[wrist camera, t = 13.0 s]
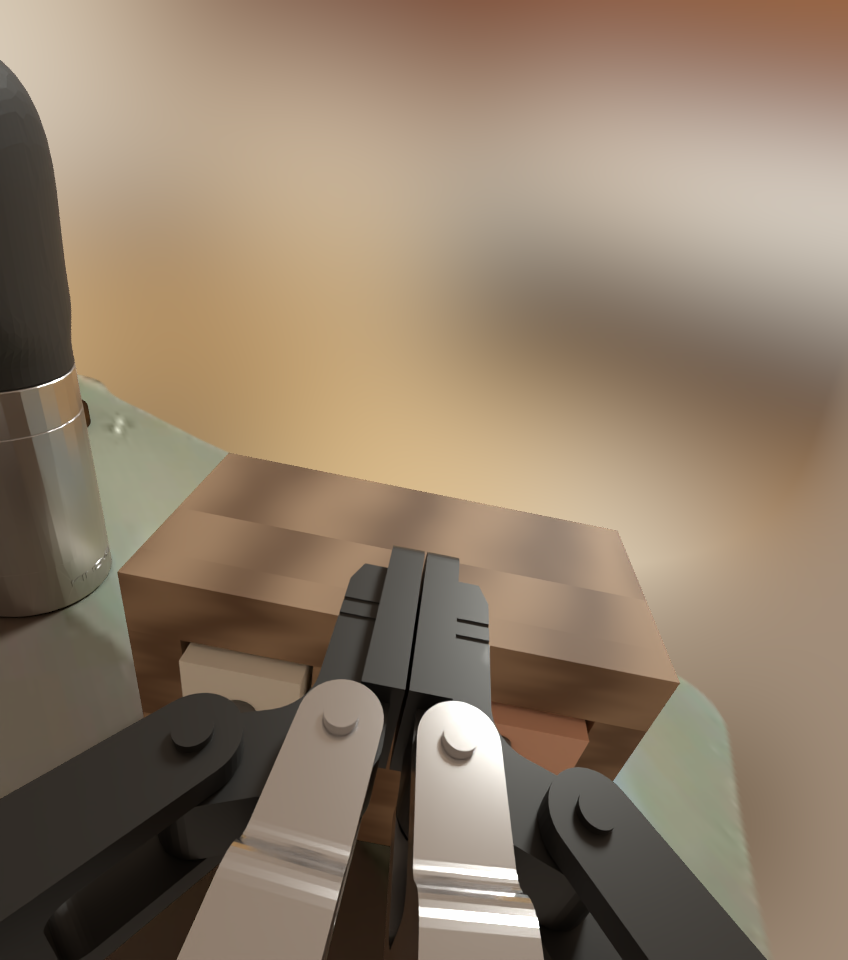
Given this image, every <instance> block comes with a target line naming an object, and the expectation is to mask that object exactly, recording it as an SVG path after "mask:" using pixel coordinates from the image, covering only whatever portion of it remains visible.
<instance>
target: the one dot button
mask: <svg viewBox="0 0 848 960" xmlns="http://www.w3.org/2000/svg"><path fill="white" fill-rule="evenodd" d="M179 667H180V676H181V684H182V693H183V697H184V696H187V695H191V694H196V693H214V694H218V695H221V696H223V697H226V698H228V699H229V700H230V701H232V702H233V703H234V704H235V705H236V706H237V707H238V709H239V711H240V712H241V713H244V712H253V711H261V710H269V709H275V708H280V707H283V706H286V705H289V704H291V703H293V702H295V701H296V700H298V699H300V698H301V697H302V696H304V695H305V694H306V693H307V692H308V691H309V690H310V689H311V684H312V673H313V666H309V665H304V664H299V663H294V662H289V661H284V660H279V659H274V658H269V657H263V656H258V655H253V654H248V653H243V652H238V651H233V650H228V649H223V648H218V647H212V646H207V645H202V644H197V643H192V642H190V644H189V646H188V647H187V649H186V650H185V652H184V654H183V655H182V657H181V658H180V660H179Z"/></svg>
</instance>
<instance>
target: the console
mask: <svg viewBox="0 0 848 960" xmlns="http://www.w3.org/2000/svg"><path fill="white" fill-rule="evenodd" d="M393 545H395V546H401V547H406V548H411V549H416V550H421V551H425V555H424V562H423V568H424V563H425V559H426V555H427V552H431V553H436V554H441V555H446V556H451V557H456V558H459V582H463V583H468V584H473V585H478V586H479V587H480V589H481V591H482V593H483V595H484V597H485V599H486V601H487V603H488V608H489V626H488V628H489V645H490V681H491V701H493V702H498V703H503V704H508V705H513V706H518V707H523V708H528V709H533V710H538V711H544V712H549V713H554V714H559V715H564V716H569V717H574V718H579V719H584V720H585V723H586V728H587V733H588V737H589V743H588V745H587V746H586V748H585V750H584V751H583V753H582V755H581V756H580V758H579V760H578V761H577V763H576V765H575V767H582V768H588V769H591V770H594V771H597V772H599V773H601V774H603V775H604V776H606V777H607V778H609V779H610V780H611V781H613V780H614V779H615V777H616V776H617V774H618V773H619V772H620V770H621V769H622V767H623V766H624V764H625V763H626V761H627V760H628V758H629V757H630V755H631V754H632V753H633V751H634V750H635V748H636V747H637V745H638V744H639V742H640V741H641V739H642V738H643V736H644V735H645V733H646V732H647V731H648V729H649V728H650V726H651V725H652V723H653V722H654V720H655V719H656V717H657V716H658V714H659V713H660V712H661V710H662V709H663V707H664V706H665V704H666V703H667V701H668V700H669V698H670V697H671V695H672V694H673V693H674V691H675V690H676V688H677V687H678V685H679V684H680V682H679V680H678V677H677V675H676V672H675V670H674V667H673V665H672V662H671V660H670V658H669V655H668V653H667V650H666V648H665V645H664V643H663V641H662V638H661V636H660V633H659V631H658V629H657V626H656V624H655V621H654V619H653V616H652V614H651V611H650V609H649V606H648V604H647V602H646V599H645V597H644V594H643V592H642V589H641V587H640V585H639V582H638V580H637V577H636V575H635V572H634V570H633V568H632V565H631V563H630V560H629V558H628V555H627V553H626V550H625V548H624V545H623V543H622V541H621V539H620V536H619V533H618V531H616V530H611V529H606V528H601V527H596V526H591V525H586V524H582V523H576V522H572V521H567V520H561V519H557V518H551V517H547V516H542V515H536V514H532V513H527V512H522V511H517V510H512V509H506V508H501V507H496V506H491V505H487V504H482V503H476V502H472V501H467V500H462V499H457V498H452V497H447V496H442V495H437V494H432V493H427V492H422V491H417V490H411V489H407V488H402V487H397V486H392V485H387V484H382V483H377V482H372V481H367V480H361V479H357V478H352V477H347V476H342V475H337V474H332V473H327V472H322V471H317V470H312V469H307V468H302V467H297V466H292V465H287V464H282V463H277V462H272V461H267V460H262V459H257V458H252V457H247V456H242V455H237V454H232V453H229V454H228V455H227V456H226V457H225V458H224V459H223V460H222V461H221V462H220V463H219V464H218V465H217V466H216V467H215V468H214V470H213V471H212V472H211V473H210V474H209V475H208V476H207V477H206V478H205V479H204V480H203V481H202V482H201V483H200V484H199V485H198V487H197V488H196V489H195V490H194V491H193V492H192V493H191V494H190V495H189V496H188V497H187V498H186V499H185V500H184V501H183V503H182V504H181V505H180V506H179V507H178V508H177V509H176V510H175V511H174V512H173V513H172V514H171V515H170V516H169V517H168V519H167V520H166V521H165V522H164V523H163V524H162V525H161V526H160V527H159V528H158V529H157V530H156V531H155V532H154V533H153V535H152V536H151V537H150V538H149V539H148V540H147V541H146V542H145V543H144V544H143V545H142V546H141V547H140V548H139V549H138V550H137V552H136V553H135V554H134V555H133V556H132V557H131V558H130V559H129V560H128V561H127V562H126V563H125V564H124V565H123V566H122V568H121V569H120V570H119V571H118V572H117V573H118V578H119V584H120V589H121V595H122V600H123V606H124V611H125V616H126V622H127V627H128V633H129V638H130V644H131V649H132V655H133V660H134V666H135V671H136V677H137V682H138V688H139V693H140V699H141V704H142V709H143V715H144V718H145V717H146V716H148V715H150V714H152V713H153V712H155V711H157V710H159V709H161V708H162V707H164V706H166V705H168V704H169V703H171V702H173V701H175V700H177V699H179V698H182V697H183V693H182V684H181V676H180V667H179V660H180V658H181V657H182V655H183V654H184V652H185V650H186V649H187V647H188V646H189V644H190V642H192V643H197V644H202V645H207V646H212V647H218V648H223V649H228V650H233V651H238V652H243V653H248V654H253V655H258V656H263V657H269V658H274V659H279V660H284V661H289V662H294V663H299V664H304V665H309V666H313V673H312V684H311V688H312V687H313V685H314V684H315V682H316V680H317V678H318V676H319V673H320V670H321V667H322V664H323V661H324V658H325V655H326V652H327V649H328V646H329V643H330V639H331V636H332V633H333V630H334V627H335V624H336V621H337V618H338V615H339V612H340V609H341V606H342V603H343V600H344V597H345V593H346V590H347V587H348V584H349V581H350V578H351V577H352V576H353V575H354V574H355V573H356V572H357V571H358V570H359V569H360V568H361V567H362V566H363V565H364V564H365V563H366V564H371V565H376V566H381V567H386V568H388V566H389V561H390V557H391V553H392V549H393ZM422 572H423V569H422ZM394 734H395V733H394ZM393 741H394V737H393ZM393 741H392V745H391V749H390V753H389V757H388V761H387V765H386V769H383V768H378V769H377V773H376V777H375V782H374V786H373V790H372V795H371V799H370V803H369V805H368V808H367V810H366V812H365V813H364V815H363V817H362V821H361V825H360V829H359V833H358V837H357V840H360V841H365V842H370V843H375V844H380V845H386V846H391V834H392V820H393V813H394V810H395V806H396V803H397V799H398V792H399V784H400V776H401V772H400V771H395V770H390V769H389V768H390V761H391V754H392V748H393Z"/></svg>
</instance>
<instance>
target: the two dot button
mask: <svg viewBox="0 0 848 960" xmlns="http://www.w3.org/2000/svg"><path fill="white" fill-rule="evenodd" d="M491 710H492V716H493V720H494V723H495V725H496V727H497V729H498V731H499V733H500V735H501V736H502V737H503V739H504V740H505V741H506V743H507V744H508V745H509V746H510V747H511V748H512V749H513V750H515V751H516V752H517V753H518V754H520V755H521V756H523V757H524V758H526V759H528V760H530V761H531V762H533V763H535V764H537V765H539V766H541V767H543V768H544V769H546V770H548V771H550V772H552V773H554V774H555V775H558V774H559V773H560V772H562V771H564V770H566V769H569V768H573V767H575V765H576V763H577V761H578V760H579V758H580V756H581V755H582V753H583V751H584V750H585V748H586V746H587V745H588V743H589V737H588V733H587V728H586V723H585V720H584V719H579V718H574V717H569V716H564V715H559V714H554V713H549V712H544V711H538V710H533V709H528V708H523V707H518V706H513V705H508V704H503V703H498V702H493V701H491Z"/></svg>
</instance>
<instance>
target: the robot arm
mask: <svg viewBox="0 0 848 960" xmlns="http://www.w3.org/2000/svg"><path fill="white" fill-rule="evenodd" d="M424 555H425V551H421V550H416V549H411V548H406V547H401V546H395V545H393V549H392V553H391V557H390V561H389V566H388V568H386V567H381V566H376V565H371V564H366V563H365V564H364V565H363V566H362V567H361V568H360V569H359V570H358V571H357V572H356V573H355V574H354V575H353V576H352V577H351V578H350V581H349V584H348V587H347V590H346V593H345V597H344V600H343V603H342V606H341V609H340V612H339V615H338V618H337V621H336V624H335V627H334V630H333V633H332V636H331V639H330V643H329V646H328V649H327V652H326V655H325V658H324V661H323V664H322V667H321V670H320V673H319V676H318V678H317V680H316V682H315V684H314V685H313V687H312V688H311V689H310V690H309V691H308V692H307V693H306V694H305V695H304V696H302V697H301V698H300V699H298V700H296V701H295V702H293V703H291V704H289V705H286V706H283V707H280V708H275V709H269V710H261V711H253V712H244V713H241V712H240V711H239V709H238V707H237V706H236V705H235V704H234V703H233V702H232V701H230V700H229V699H228V698H226V697H223V696H221V695H218V694H214V693H196V694H191V695H187V696H184V697H182V698H179V699H177V700H175V701H173V702H171V703H169V704H168V705H166V706H164V707H162V708H161V709H159V710H157V711H155V712H153V713H152V714H150V715H148V716H146V717H145V718H143V719H141V720H139V721H138V722H136V723H134V724H132V725H130V726H129V727H127V728H125V729H123V730H122V731H120V732H118V733H116V734H115V735H113V736H111V737H109V738H107V739H106V740H104V741H102V742H100V743H99V744H97V745H95V746H93V747H92V748H90V749H88V750H86V751H84V752H83V753H81V754H79V755H77V756H76V757H74V758H72V759H70V760H69V761H67V762H65V763H63V764H61V765H60V766H58V767H56V768H54V769H53V770H51V771H49V772H47V773H46V774H44V775H42V776H40V777H38V778H37V779H35V780H33V781H31V782H30V783H28V784H26V785H24V786H22V787H21V788H19V789H17V790H15V791H14V792H12V793H10V794H8V795H7V796H5V797H3V798H1V799H0V960H104V959H105V958H106V957H108V956H109V955H110V954H111V953H112V952H114V951H115V950H116V949H117V948H118V947H120V946H121V945H122V944H123V943H124V942H126V941H127V940H128V939H129V938H130V937H132V936H133V935H134V934H135V933H136V932H138V931H139V930H140V929H141V928H142V927H144V926H145V925H146V924H147V923H148V922H150V921H151V920H152V919H153V918H154V917H156V916H157V915H158V914H159V913H160V912H162V911H163V910H164V909H165V908H166V907H168V906H169V905H170V904H171V903H172V902H174V901H175V900H176V899H177V898H178V897H180V896H181V895H182V894H183V893H184V892H186V891H187V890H188V889H189V888H190V887H192V886H193V885H194V884H195V883H196V882H198V881H199V880H200V879H201V878H202V877H204V876H205V875H206V874H207V873H208V872H210V871H211V870H212V869H213V868H214V867H216V866H217V865H218V864H219V863H220V862H221V863H220V865H219V867H218V869H217V871H216V874H215V876H214V878H213V880H212V882H211V885H210V887H209V889H208V891H207V893H206V896H205V898H204V900H203V902H202V905H201V907H200V909H199V911H198V913H197V916H196V918H195V920H194V922H193V925H192V927H191V929H190V931H189V933H188V936H187V938H186V940H185V942H184V944H183V947H182V949H181V951H180V953H179V956H178V958H177V960H327V955H328V951H329V947H330V943H331V939H332V935H333V931H334V927H335V923H336V919H337V916H338V912H339V908H340V904H341V900H342V896H343V892H344V888H345V884H346V880H347V876H348V872H349V868H350V864H351V860H352V856H353V853H354V849H355V845H356V841H357V837H358V833H359V829H360V825H361V821H362V817H363V815H364V813H365V812H366V810H367V808H368V805H369V803H370V799H371V795H372V790H373V786H374V782H375V777H376V773H377V769H378V768H383V769H386V765H387V761H388V757H389V753H390V749H391V745H392V741H393V737H394V741H393V748H392V754H391V761H390V768H389V769H390V770H395V771H400V772H401V776H400V784H399V792H398V799H397V803H396V806H395V810H394V813H393V820H392V834H391V849H390V865H389V880H388V895H387V911H386V926H385V941H384V953H383V960H767V959H766V958H765V957H764V956H763V955H762V953H761V952H760V951H759V950H758V949H757V948H756V946H755V945H754V944H753V943H752V942H751V941H750V939H749V938H748V937H747V936H746V935H745V934H744V932H743V931H742V930H741V929H740V928H739V927H738V925H737V924H736V923H735V922H734V921H733V919H732V918H731V917H730V916H729V915H728V914H727V912H726V911H725V910H724V909H723V908H722V907H721V905H720V904H719V903H718V902H717V901H716V900H715V898H714V897H713V896H712V895H711V894H710V893H709V891H708V890H707V889H706V888H705V887H704V886H703V884H702V883H701V882H700V881H699V880H698V879H697V877H696V876H695V875H694V874H693V873H692V872H691V870H690V869H689V868H688V867H687V866H686V865H685V863H684V862H683V861H682V860H681V859H680V858H679V856H678V855H677V854H676V853H675V852H674V851H673V849H672V848H671V847H670V846H669V845H668V844H667V842H666V841H665V840H664V839H663V838H662V837H661V835H660V834H659V833H658V832H657V831H656V830H655V828H654V827H653V826H652V825H651V824H650V823H649V821H648V820H647V819H646V818H645V817H644V816H643V814H642V813H641V812H640V811H639V810H638V809H637V807H636V806H635V805H634V804H633V803H632V802H631V800H630V799H629V798H628V797H627V796H626V794H625V793H624V792H623V791H622V790H621V789H620V788H619V787H618V786H617V785H616V784H615V783H614V782H613V781H611V780H610V779H609V778H607V777H606V776H604V775H603V774H601V773H599V772H597V771H594V770H591V769H588V768H582V767H573V768H569V769H566V770H564V771H562V772H560V773H559V774H558V775H555V774H554V773H552V772H550V771H548V770H546V769H544V768H543V767H541V766H539V765H537V764H535V763H533V762H531V761H530V760H528V759H526V758H524V757H523V756H521V755H520V754H518V753H517V752H516V751H515V750H513V749H512V748H511V747H510V746H509V745H508V744H507V743H506V741H505V740H504V739H503V737H502V736H501V735H500V733H499V731H498V729H497V727H496V725H495V723H494V720H493V716H492V710H491V681H490V645H489V628H488V626H489V608H488V603H487V601H486V599H485V597H484V595H483V593H482V591H481V589H480V587H479V586H478V585H473V584H468V583H463V582H459V558H456V557H451V556H446V555H441V554H436V553H431V552H427V555H426V559H425V563H424V568H423V562H424ZM111 563H112V559H111V553H110V548H109V543H108V537H107V532H106V527H105V520H104V515H103V510H102V504H101V499H100V494H99V488H98V483H97V478H96V472H95V467H94V462H93V456H92V451H91V446H90V441H89V435H88V430H87V425H86V419H85V414H84V409H83V403H82V399H81V394H80V388H79V383H78V378H77V373H76V367H75V362H74V356H73V351H72V344H71V302H70V294H69V287H68V282H67V274H66V268H65V260H64V253H63V244H62V236H61V226H60V217H59V208H58V199H57V190H56V183H55V177H54V170H53V164H52V159H51V155H50V150H49V146H48V142H47V138H46V135H45V132H44V129H43V126H42V123H41V120H40V117H39V115H38V112H37V110H36V108H35V106H34V104H33V102H32V100H31V98H30V96H29V94H28V92H27V91H26V89H25V88H24V86H23V85H22V83H21V82H20V81H19V79H18V78H17V77H16V75H15V74H14V73H13V72H12V71H11V70H10V69H9V68H8V67H7V66H6V65H5V64H4V63H3V62H2V61H1V60H0V616H6V617H22V616H32V615H37V614H42V613H47V612H51V611H54V610H57V609H60V608H63V607H66V606H68V605H70V604H72V603H74V602H76V601H78V600H80V599H82V598H83V597H85V596H87V595H88V594H90V593H91V592H93V591H94V590H95V589H96V588H97V587H98V586H99V585H101V584H102V582H103V581H104V580H105V578H106V577H107V576H108V574H109V571H110V569H111ZM422 569H423V572H422ZM394 733H395V734H394Z"/></svg>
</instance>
